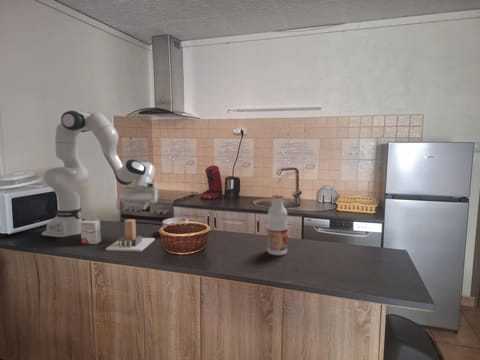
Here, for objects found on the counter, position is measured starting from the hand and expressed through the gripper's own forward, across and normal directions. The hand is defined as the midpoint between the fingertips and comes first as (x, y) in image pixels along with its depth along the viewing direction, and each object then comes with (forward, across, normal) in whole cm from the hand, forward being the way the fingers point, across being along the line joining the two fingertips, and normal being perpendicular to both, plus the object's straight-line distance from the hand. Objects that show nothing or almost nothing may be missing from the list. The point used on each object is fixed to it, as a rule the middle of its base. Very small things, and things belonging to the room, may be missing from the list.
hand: (135, 208), depth 165 cm
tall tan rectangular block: (+16, 0, +7) cm, 18 cm away
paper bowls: (+2, +17, +24) cm, 29 cm away
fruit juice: (+20, +75, +5) cm, 78 cm away
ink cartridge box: (+16, -23, +10) cm, 29 cm away
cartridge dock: (+17, 0, +8) cm, 19 cm away
